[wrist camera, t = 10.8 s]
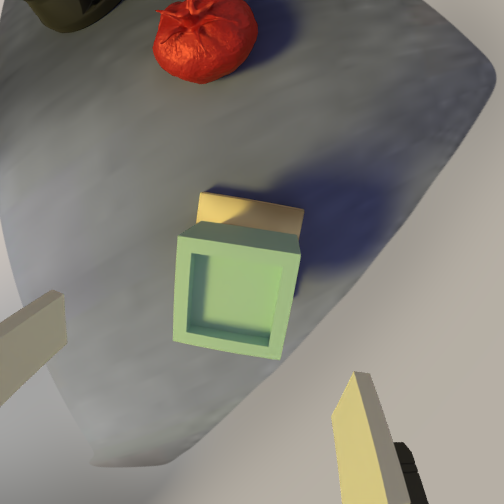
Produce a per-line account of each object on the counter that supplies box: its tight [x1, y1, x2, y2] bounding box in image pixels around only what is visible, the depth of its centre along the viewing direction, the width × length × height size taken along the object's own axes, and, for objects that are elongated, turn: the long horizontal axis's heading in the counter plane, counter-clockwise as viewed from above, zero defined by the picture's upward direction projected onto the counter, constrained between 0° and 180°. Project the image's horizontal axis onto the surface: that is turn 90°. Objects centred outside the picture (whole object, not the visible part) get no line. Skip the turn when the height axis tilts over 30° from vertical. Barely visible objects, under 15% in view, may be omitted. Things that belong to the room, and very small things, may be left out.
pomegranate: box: [153, 0, 258, 84], centre depth 23 cm, size 10×10×9 cm
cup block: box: [173, 221, 301, 360], centre depth 24 cm, size 8×8×6 cm
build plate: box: [196, 192, 304, 240], centre depth 29 cm, size 10×10×6 cm
